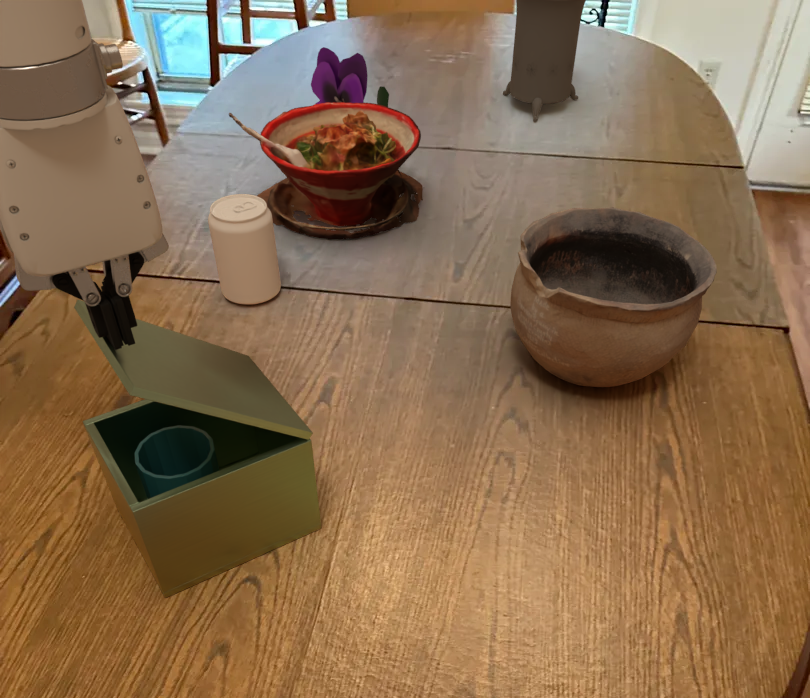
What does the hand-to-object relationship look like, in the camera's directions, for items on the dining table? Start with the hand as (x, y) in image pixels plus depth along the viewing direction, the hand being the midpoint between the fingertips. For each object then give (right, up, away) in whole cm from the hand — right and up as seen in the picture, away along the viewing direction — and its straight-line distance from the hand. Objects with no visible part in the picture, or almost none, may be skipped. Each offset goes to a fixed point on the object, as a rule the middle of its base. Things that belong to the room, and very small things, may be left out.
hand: (119, 338), depth 61 cm
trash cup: (+1, -14, +17) cm, 22 cm away
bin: (+3, -14, +19) cm, 23 cm away
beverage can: (+1, +18, +47) cm, 50 cm away
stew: (+12, +36, +62) cm, 72 cm away
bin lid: (+4, -2, +6) cm, 8 cm away
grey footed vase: (+48, +69, +92) cm, 124 cm away
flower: (+13, +58, +82) cm, 101 cm away
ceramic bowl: (+46, +6, +37) cm, 59 cm away
